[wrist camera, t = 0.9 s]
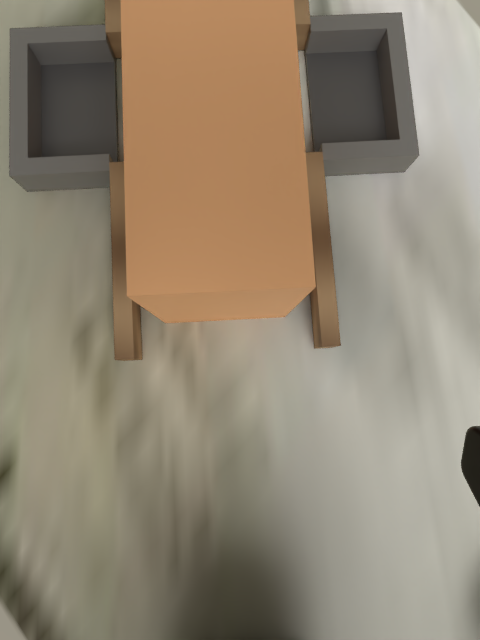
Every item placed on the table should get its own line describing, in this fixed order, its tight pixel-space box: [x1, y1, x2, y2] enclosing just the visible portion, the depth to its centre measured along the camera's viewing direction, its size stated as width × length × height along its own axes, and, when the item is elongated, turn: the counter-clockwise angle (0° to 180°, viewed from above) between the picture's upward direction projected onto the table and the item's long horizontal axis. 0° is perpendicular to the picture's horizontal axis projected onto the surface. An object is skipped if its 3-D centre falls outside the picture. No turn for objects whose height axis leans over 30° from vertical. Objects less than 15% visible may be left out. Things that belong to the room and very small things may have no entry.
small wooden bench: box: [105, 0, 341, 361], centre depth 23 cm, size 27×12×4 cm, turn 4°
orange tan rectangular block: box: [121, 0, 316, 323], centre depth 20 cm, size 15×7×9 cm, turn 3°
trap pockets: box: [9, 12, 419, 192], centre depth 24 cm, size 9×23×2 cm, turn 94°
